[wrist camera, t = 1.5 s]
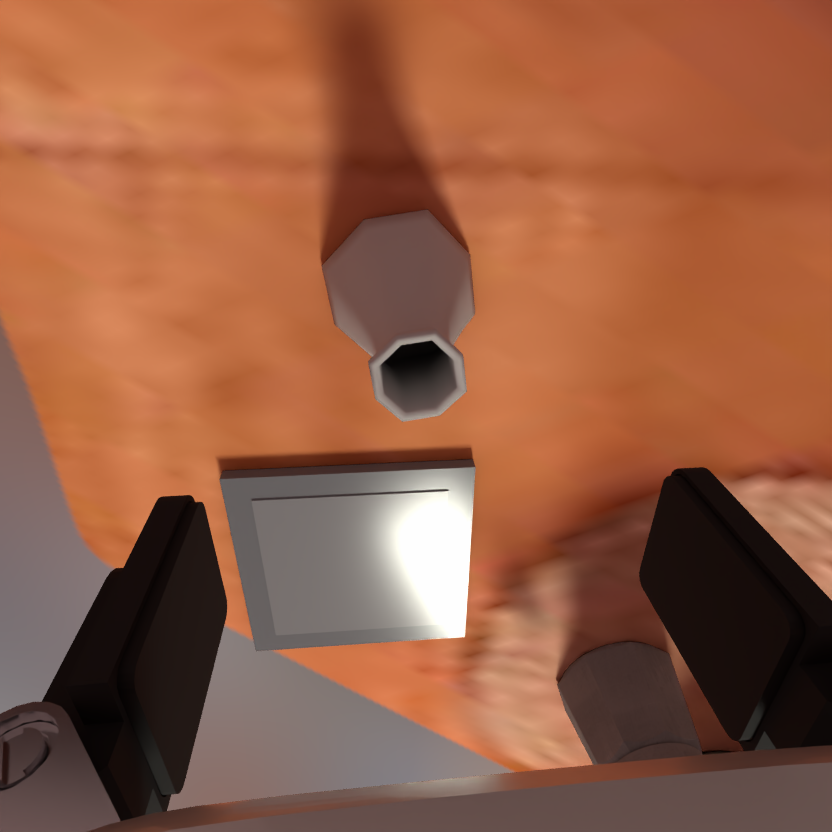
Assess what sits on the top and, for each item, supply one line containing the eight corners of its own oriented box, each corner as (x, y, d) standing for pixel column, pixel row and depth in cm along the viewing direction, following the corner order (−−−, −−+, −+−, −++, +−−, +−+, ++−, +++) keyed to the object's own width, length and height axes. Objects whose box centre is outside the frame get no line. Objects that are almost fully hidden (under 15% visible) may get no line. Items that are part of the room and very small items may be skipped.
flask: (497, 318, 28) (558, 416, 19) (370, 380, 29) (373, 500, 20) (436, 179, 25) (477, 222, 16) (294, 255, 26) (260, 335, 17)
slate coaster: (472, 459, 32) (475, 468, 31) (462, 627, 39) (465, 637, 38) (222, 470, 31) (219, 480, 30) (257, 640, 38) (255, 652, 37)
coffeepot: (714, 636, 42) (925, 958, 26) (676, 714, 46) (835, 1027, 31) (512, 639, 40) (608, 985, 24) (493, 719, 45) (563, 1054, 29)
